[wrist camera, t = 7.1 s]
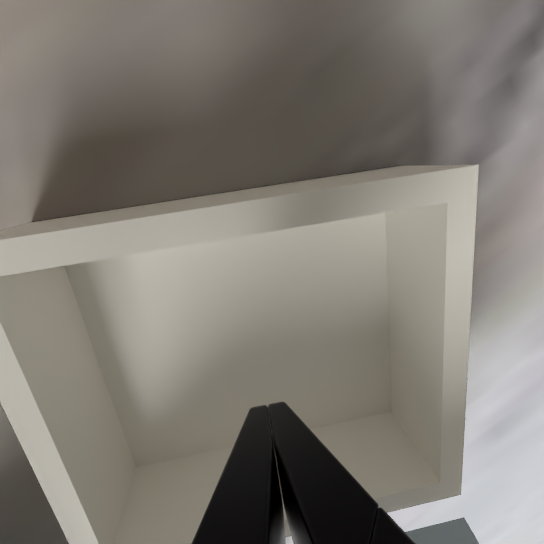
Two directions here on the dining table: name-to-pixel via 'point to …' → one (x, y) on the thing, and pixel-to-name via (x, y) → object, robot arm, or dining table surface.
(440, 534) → the lid flap
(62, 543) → the dining table surface
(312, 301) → the open box
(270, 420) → the robot arm
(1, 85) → the dining table surface
